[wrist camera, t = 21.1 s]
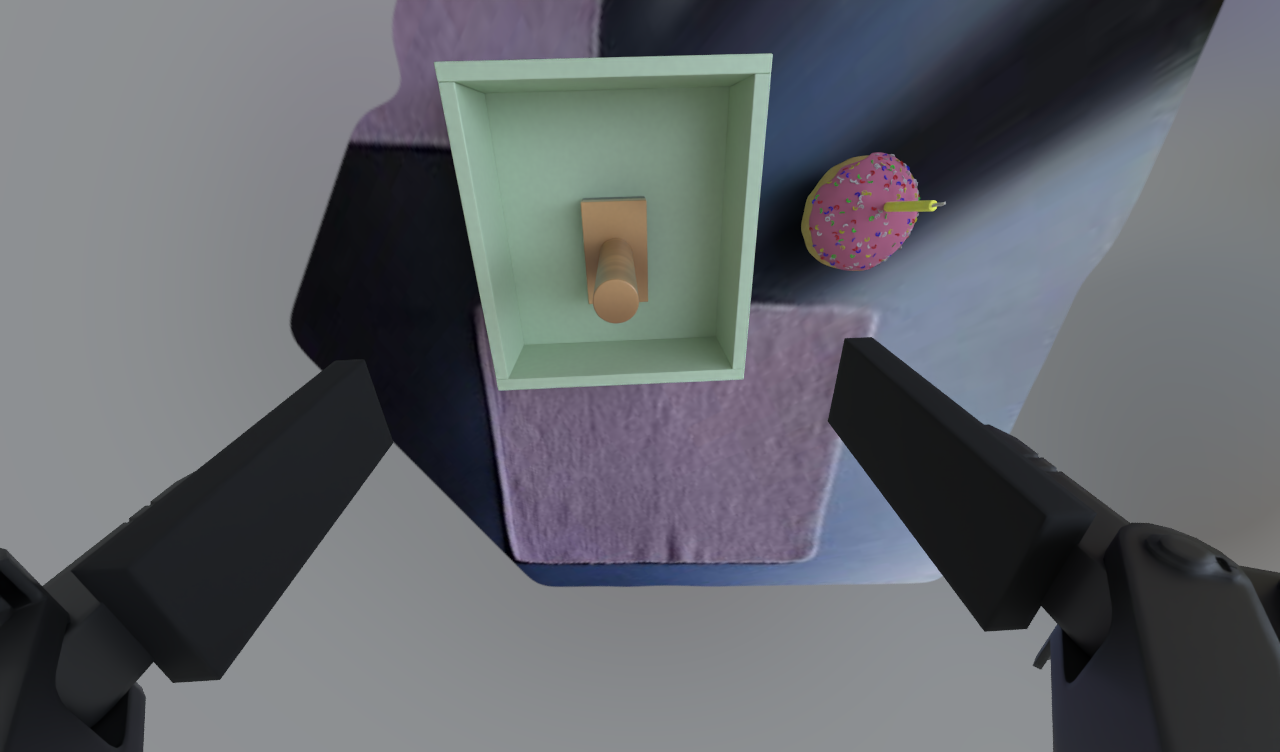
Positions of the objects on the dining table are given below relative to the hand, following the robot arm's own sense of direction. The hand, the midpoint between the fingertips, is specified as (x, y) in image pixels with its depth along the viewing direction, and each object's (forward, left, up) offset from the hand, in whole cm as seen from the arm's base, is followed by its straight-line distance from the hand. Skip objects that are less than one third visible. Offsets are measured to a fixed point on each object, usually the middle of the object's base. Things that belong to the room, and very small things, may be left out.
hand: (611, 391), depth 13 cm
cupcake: (-1, +19, -29) cm, 35 cm away
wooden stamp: (+2, 0, -28) cm, 28 cm away
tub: (0, 0, -29) cm, 29 cm away
